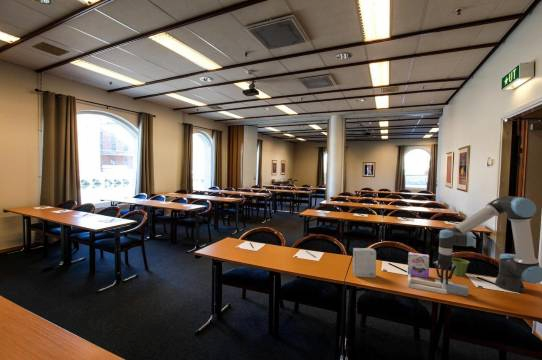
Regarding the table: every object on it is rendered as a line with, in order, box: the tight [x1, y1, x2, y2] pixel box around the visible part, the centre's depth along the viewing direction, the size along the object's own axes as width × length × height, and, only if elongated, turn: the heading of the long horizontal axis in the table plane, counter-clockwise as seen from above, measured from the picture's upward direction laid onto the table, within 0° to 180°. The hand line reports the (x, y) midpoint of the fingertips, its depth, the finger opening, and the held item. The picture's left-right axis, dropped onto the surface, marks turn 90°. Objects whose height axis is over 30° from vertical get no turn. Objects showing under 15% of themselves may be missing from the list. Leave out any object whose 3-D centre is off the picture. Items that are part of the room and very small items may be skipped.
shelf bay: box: [407, 273, 447, 295], centre depth 177 cm, size 22×11×5 cm, turn 64°
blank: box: [445, 283, 469, 297], centre depth 170 cm, size 12×4×5 cm, turn 64°
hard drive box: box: [352, 247, 377, 279], centre depth 196 cm, size 16×8×20 cm, turn 84°
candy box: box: [407, 251, 430, 279], centre depth 198 cm, size 14×6×16 cm, turn 62°
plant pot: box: [452, 257, 470, 277], centre depth 200 cm, size 12×12×11 cm
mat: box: [434, 278, 454, 284], centre depth 183 cm, size 11×11×1 cm
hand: (443, 288), depth 173 cm, fingers closed
